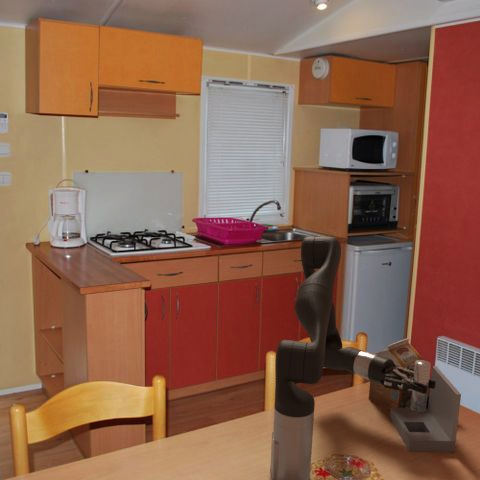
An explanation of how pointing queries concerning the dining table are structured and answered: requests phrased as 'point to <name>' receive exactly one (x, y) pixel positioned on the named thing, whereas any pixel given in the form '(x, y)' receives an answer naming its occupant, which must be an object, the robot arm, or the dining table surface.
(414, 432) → the grey l-shaped stand
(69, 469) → the dining table surface
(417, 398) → the rod
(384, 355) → the milk carton
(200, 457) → the dining table surface
